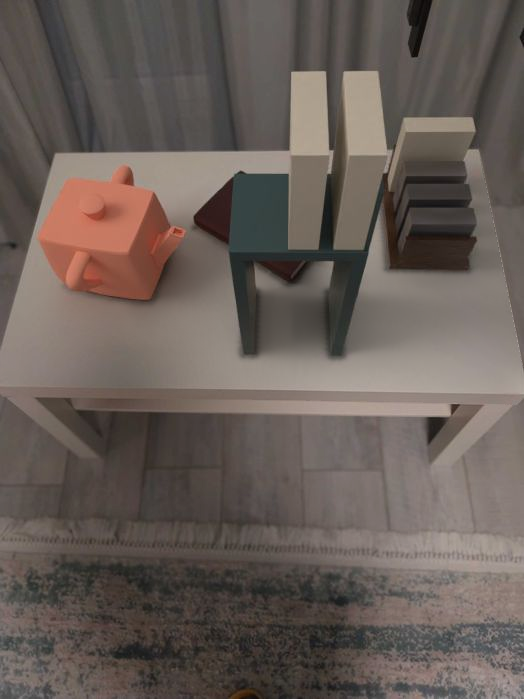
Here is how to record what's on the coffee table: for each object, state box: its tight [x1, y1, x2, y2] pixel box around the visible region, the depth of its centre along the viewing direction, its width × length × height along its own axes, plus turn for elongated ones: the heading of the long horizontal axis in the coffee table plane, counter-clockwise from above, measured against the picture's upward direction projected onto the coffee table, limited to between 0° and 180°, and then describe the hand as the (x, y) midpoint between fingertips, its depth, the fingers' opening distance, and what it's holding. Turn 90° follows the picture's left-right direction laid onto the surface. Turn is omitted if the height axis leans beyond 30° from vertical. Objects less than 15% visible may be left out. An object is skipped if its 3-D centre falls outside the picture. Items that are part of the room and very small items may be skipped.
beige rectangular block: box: [388, 116, 477, 192], centre depth 77 cm, size 3×10×12 cm, turn 88°
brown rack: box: [381, 144, 478, 270], centre depth 77 cm, size 19×12×9 cm, turn 178°
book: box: [192, 170, 310, 283], centre depth 79 cm, size 12×19×3 cm, turn 53°
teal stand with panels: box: [227, 70, 389, 356], centre depth 57 cm, size 14×11×36 cm
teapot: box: [36, 165, 187, 301], centre depth 72 cm, size 20×22×14 cm
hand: (468, 47), depth 60 cm, fingers open, 13 cm apart
